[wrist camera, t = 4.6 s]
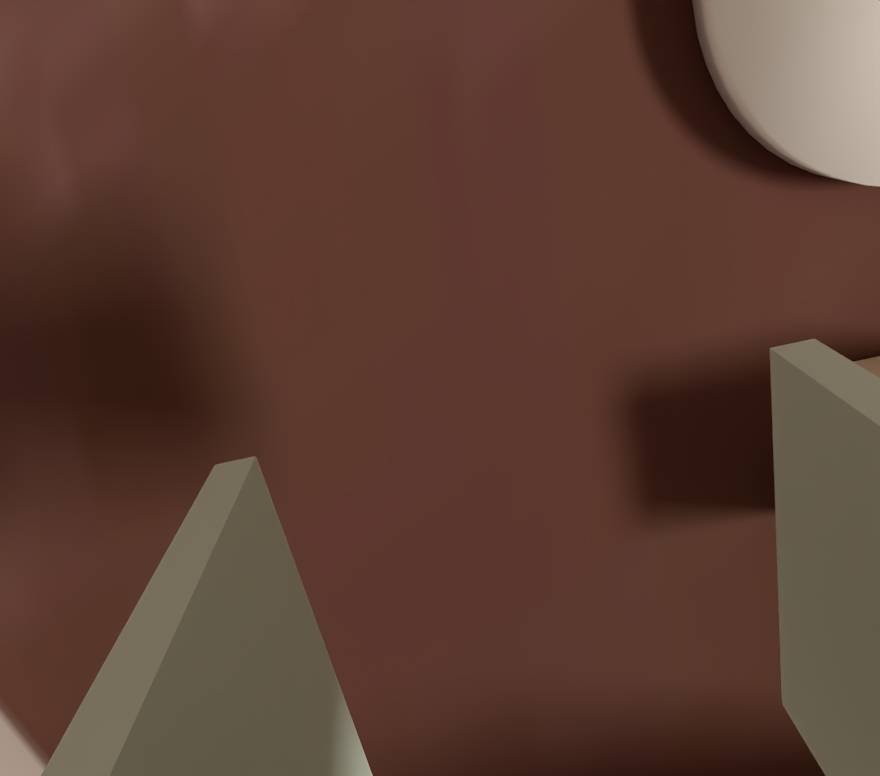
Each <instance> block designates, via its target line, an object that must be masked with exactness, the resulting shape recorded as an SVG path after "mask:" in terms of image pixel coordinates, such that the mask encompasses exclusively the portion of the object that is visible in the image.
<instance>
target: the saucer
mask: <svg viewBox="0 0 880 776" xmlns="http://www.w3.org/2000/svg"><path fill="white" fill-rule="evenodd" d="M692 4H693V11H694V17H695V24H696V30H697V36H698V39H699V43H700V46H701V50H702V53H703V57H704V60H705V64H706V66H707V68H708V71H709V73H710V75H711V77H712V80H713V82H714V84H715V87H716V89H717V91H718V92H719V94H720V96H721V97H722V99H723V100H724V102H725V104H726V105H727V107H728V109H729V110H730V112H731V113H732V115H733V116H734V117H735V118H736V119H737V120H738V122H739V123H740V124H741V125H742V126H743V128H744V129H745V130H746V131H747V132H748V133H749V134H750V135H751V136H752V137H753V138H754V139H755V140H757V141H758V142H759V143H760V144H761V145H762V146H764V147H765V148H766V149H767V150H768V151H770V152H771V153H773V154H775V155H776V156H778V157H780V158H781V159H783V160H784V161H786V162H788V163H789V164H791V165H794V166H796V167H799V168H801V169H803V170H806V171H808V172H811V173H813V174H817V175H821V176H825V177H829V178H833V179H837V180H842V181H847V182H852V183H858V184H863V185H870V186H880V0H692Z"/></svg>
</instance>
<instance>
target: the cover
mask: <svg viewBox="0 0 880 776" xmlns="http://www.w3.org/2000/svg"><path fill="white" fill-rule="evenodd" d="M770 371H771V400H772V429H773V457H774V486H775V515H776V543H777V572H778V601H779V630H780V658H781V687H782V704H783V706H784V708H785V709H786V711H787V713H788V714H789V716H790V718H791V719H792V721H793V723H794V724H795V726H796V728H797V729H798V731H799V733H800V734H801V736H802V738H803V739H804V741H805V743H806V744H807V746H808V748H809V749H810V751H811V753H812V754H813V756H814V758H815V759H816V761H817V763H818V764H819V766H820V768H821V769H822V771H823V773H824V774H825V776H880V378H879V377H877V376H876V375H874V374H872V373H871V372H869V371H867V370H866V369H864V368H862V367H861V366H859V365H857V364H856V363H854V362H852V361H851V360H849V359H847V358H846V357H844V356H842V355H841V354H839V353H837V352H836V351H834V350H832V349H831V348H829V347H828V346H826V345H824V344H823V343H821V342H819V341H818V340H816V339H811V340H806V341H801V342H796V343H791V344H787V345H782V346H777V347H772V348H770ZM42 776H372V773H371V770H370V767H369V765H368V762H367V759H366V756H365V754H364V751H363V748H362V745H361V743H360V740H359V737H358V735H357V732H356V729H355V726H354V724H353V721H352V718H351V715H350V713H349V710H348V707H347V704H346V702H345V699H344V696H343V693H342V691H341V688H340V685H339V682H338V680H337V677H336V674H335V671H334V669H333V666H332V663H331V661H330V658H329V655H328V652H327V650H326V647H325V644H324V641H323V639H322V636H321V633H320V630H319V628H318V625H317V622H316V619H315V617H314V614H313V611H312V608H311V606H310V603H309V600H308V597H307V595H306V592H305V589H304V587H303V584H302V581H301V578H300V576H299V573H298V570H297V567H296V565H295V562H294V559H293V556H292V554H291V551H290V548H289V545H288V543H287V540H286V537H285V534H284V532H283V529H282V526H281V523H280V521H279V518H278V515H277V513H276V510H275V507H274V504H273V502H272V499H271V496H270V493H269V491H268V488H267V485H266V482H265V480H264V477H263V474H262V471H261V469H260V466H259V463H258V460H257V458H256V456H254V457H249V458H244V459H239V460H235V461H230V462H225V463H220V464H216V465H215V466H214V467H213V469H212V471H211V473H210V475H209V476H208V478H207V480H206V482H205V483H204V485H203V487H202V489H201V491H200V492H199V494H198V496H197V498H196V500H195V501H194V503H193V505H192V507H191V508H190V510H189V512H188V514H187V516H186V517H185V519H184V521H183V523H182V525H181V526H180V528H179V530H178V532H177V534H176V535H175V537H174V539H173V541H172V542H171V544H170V546H169V548H168V550H167V551H166V553H165V555H164V557H163V559H162V560H161V562H160V564H159V566H158V568H157V569H156V571H155V573H154V575H153V576H152V578H151V580H150V582H149V584H148V585H147V587H146V589H145V591H144V593H143V594H142V596H141V598H140V600H139V602H138V603H137V605H136V607H135V609H134V610H133V612H132V614H131V616H130V618H129V619H128V621H127V623H126V625H125V627H124V628H123V630H122V632H121V634H120V636H119V637H118V639H117V641H116V643H115V644H114V646H113V648H112V650H111V652H110V653H109V655H108V657H107V659H106V661H105V662H104V664H103V666H102V668H101V670H100V671H99V673H98V675H97V677H96V678H95V680H94V682H93V684H92V686H91V687H90V689H89V691H88V693H87V695H86V696H85V698H84V700H83V702H82V704H81V705H80V707H79V709H78V711H77V712H76V714H75V716H74V718H73V720H72V721H71V723H70V725H69V727H68V729H67V730H66V732H65V734H64V736H63V738H62V739H61V741H60V743H59V745H58V746H57V748H56V750H55V752H54V754H53V755H52V757H51V759H50V761H49V763H48V764H47V766H46V768H45V770H44V772H43V773H42Z"/></svg>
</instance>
